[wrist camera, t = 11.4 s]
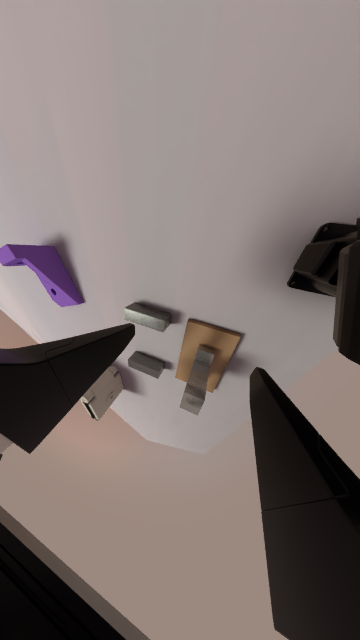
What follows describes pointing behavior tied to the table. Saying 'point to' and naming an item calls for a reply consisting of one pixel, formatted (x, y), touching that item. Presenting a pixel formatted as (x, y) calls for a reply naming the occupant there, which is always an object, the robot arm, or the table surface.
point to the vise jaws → (151, 320)
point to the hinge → (102, 393)
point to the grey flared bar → (198, 380)
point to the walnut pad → (211, 338)
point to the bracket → (44, 270)
